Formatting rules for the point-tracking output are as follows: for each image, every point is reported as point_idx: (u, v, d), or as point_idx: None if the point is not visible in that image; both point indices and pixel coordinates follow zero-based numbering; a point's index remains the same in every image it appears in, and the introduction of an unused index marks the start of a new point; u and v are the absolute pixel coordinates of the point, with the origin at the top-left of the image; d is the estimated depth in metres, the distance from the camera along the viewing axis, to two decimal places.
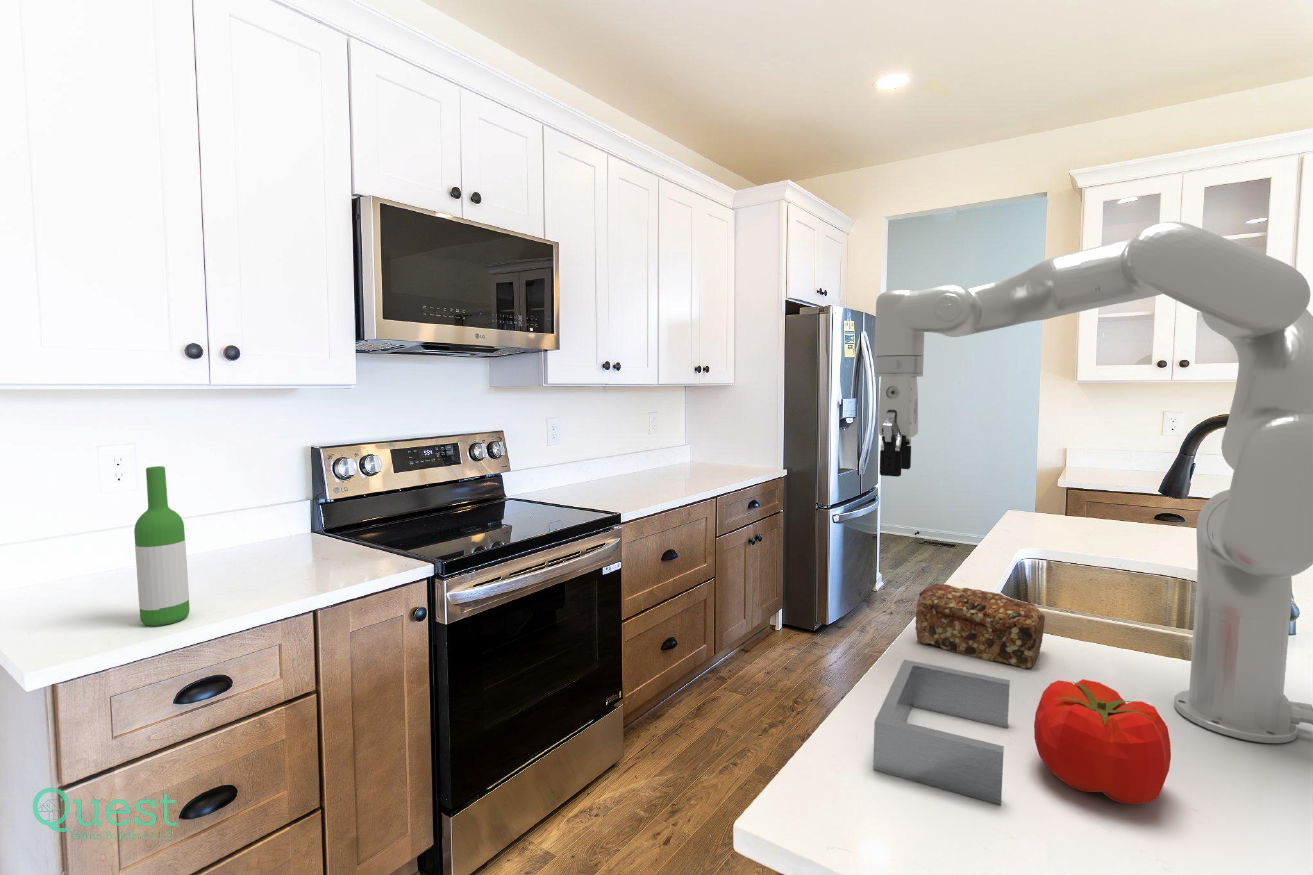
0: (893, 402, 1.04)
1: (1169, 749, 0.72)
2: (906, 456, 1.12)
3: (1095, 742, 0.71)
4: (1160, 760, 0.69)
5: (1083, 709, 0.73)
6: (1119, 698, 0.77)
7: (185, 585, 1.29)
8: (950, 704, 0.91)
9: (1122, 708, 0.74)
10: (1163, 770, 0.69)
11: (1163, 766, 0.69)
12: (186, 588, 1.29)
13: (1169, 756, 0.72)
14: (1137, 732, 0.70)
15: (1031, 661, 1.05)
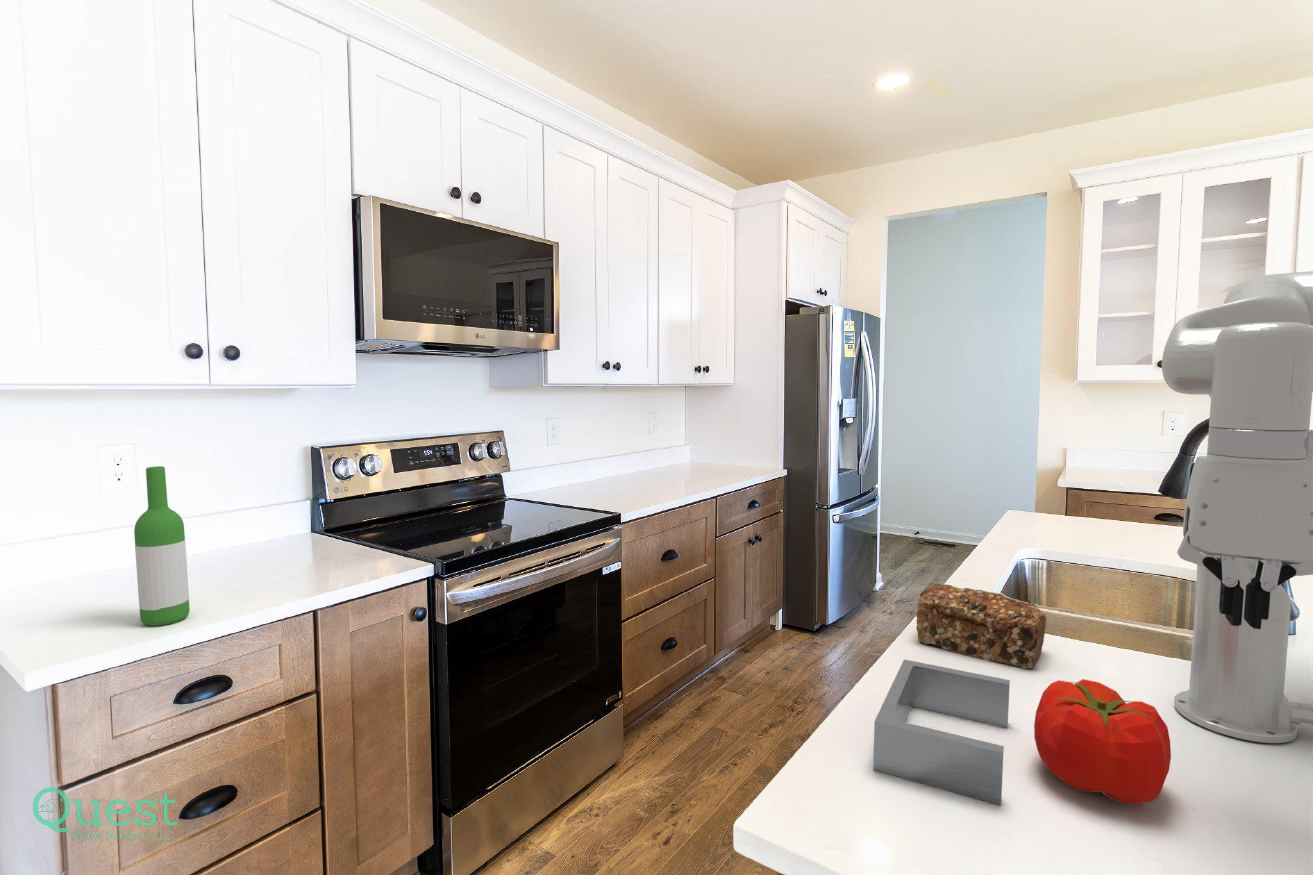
0: None
1: (1169, 749, 0.72)
2: None
3: (1095, 742, 0.71)
4: (1161, 760, 0.69)
5: (1083, 709, 0.73)
6: (1119, 698, 0.77)
7: (185, 585, 1.29)
8: (950, 704, 0.91)
9: (1122, 708, 0.74)
10: (1163, 770, 0.69)
11: (1163, 766, 0.69)
12: (186, 588, 1.29)
13: (1169, 756, 0.72)
14: (1137, 733, 0.70)
15: (1032, 661, 1.05)
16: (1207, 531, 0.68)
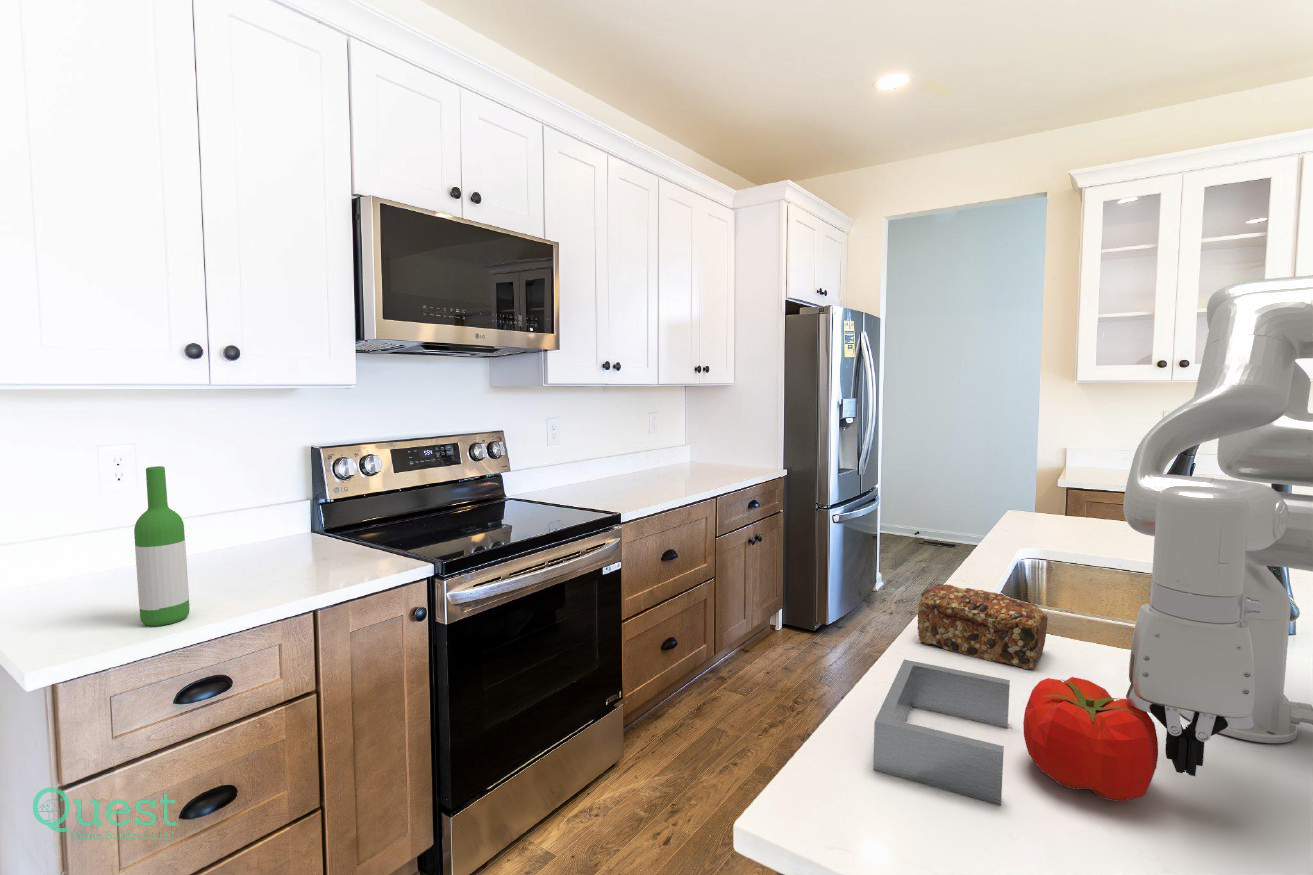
0: None
1: (1156, 746, 0.72)
2: None
3: (1083, 739, 0.71)
4: (1147, 756, 0.70)
5: (1071, 707, 0.73)
6: (1108, 696, 0.78)
7: (185, 585, 1.29)
8: (950, 704, 0.91)
9: (1110, 706, 0.75)
10: (1150, 767, 0.70)
11: (1150, 763, 0.70)
12: (186, 588, 1.29)
13: (1156, 753, 0.72)
14: (1124, 730, 0.70)
15: (1033, 662, 1.05)
16: (1149, 682, 0.71)
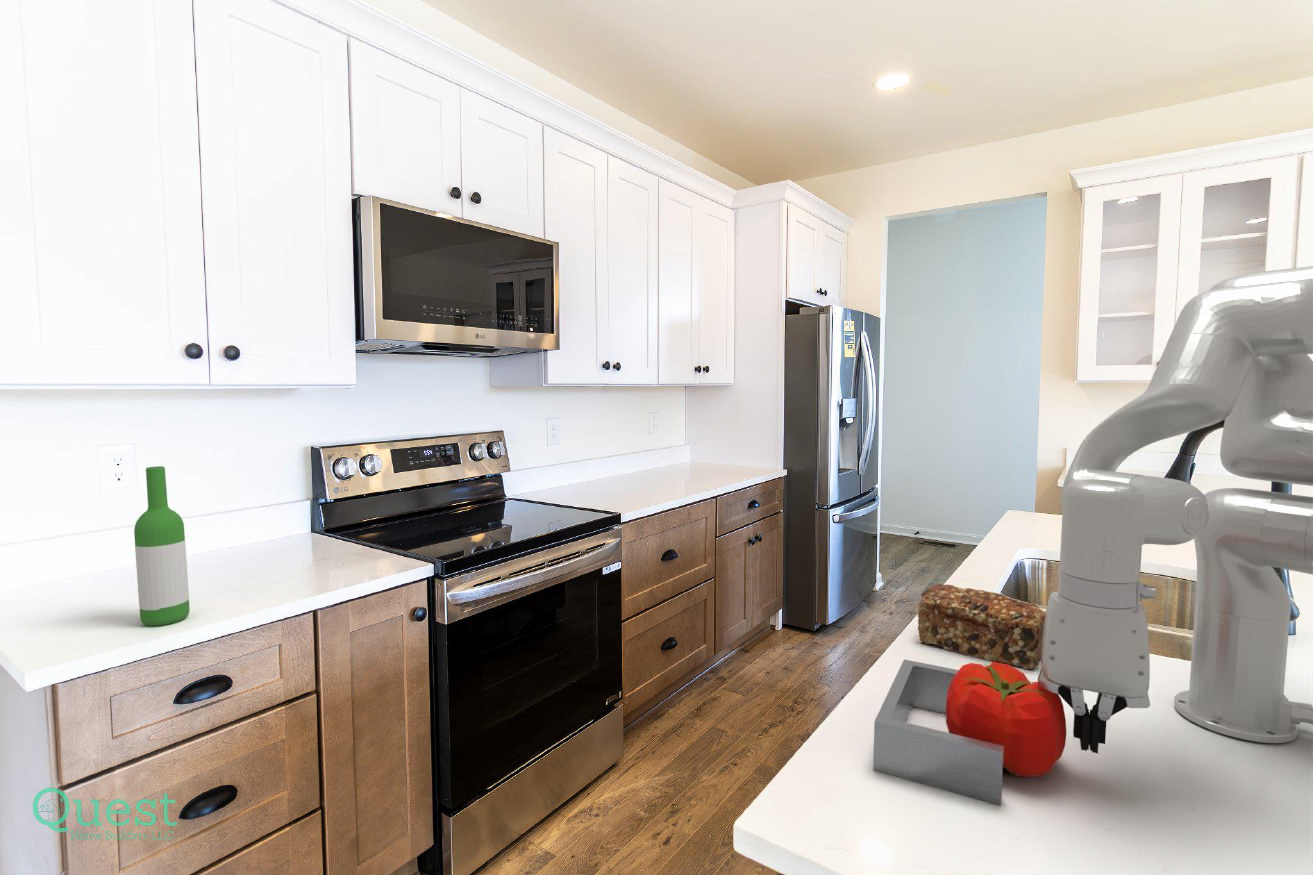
0: None
1: (1064, 726, 0.77)
2: None
3: (993, 718, 0.76)
4: (1051, 735, 0.74)
5: (985, 688, 0.78)
6: (1025, 679, 0.82)
7: (185, 585, 1.29)
8: None
9: (1023, 688, 0.79)
10: (1054, 744, 0.74)
11: (1054, 741, 0.74)
12: (186, 588, 1.29)
13: (1064, 732, 0.77)
14: (1030, 709, 0.74)
15: (1033, 662, 1.05)
16: (1055, 665, 0.75)
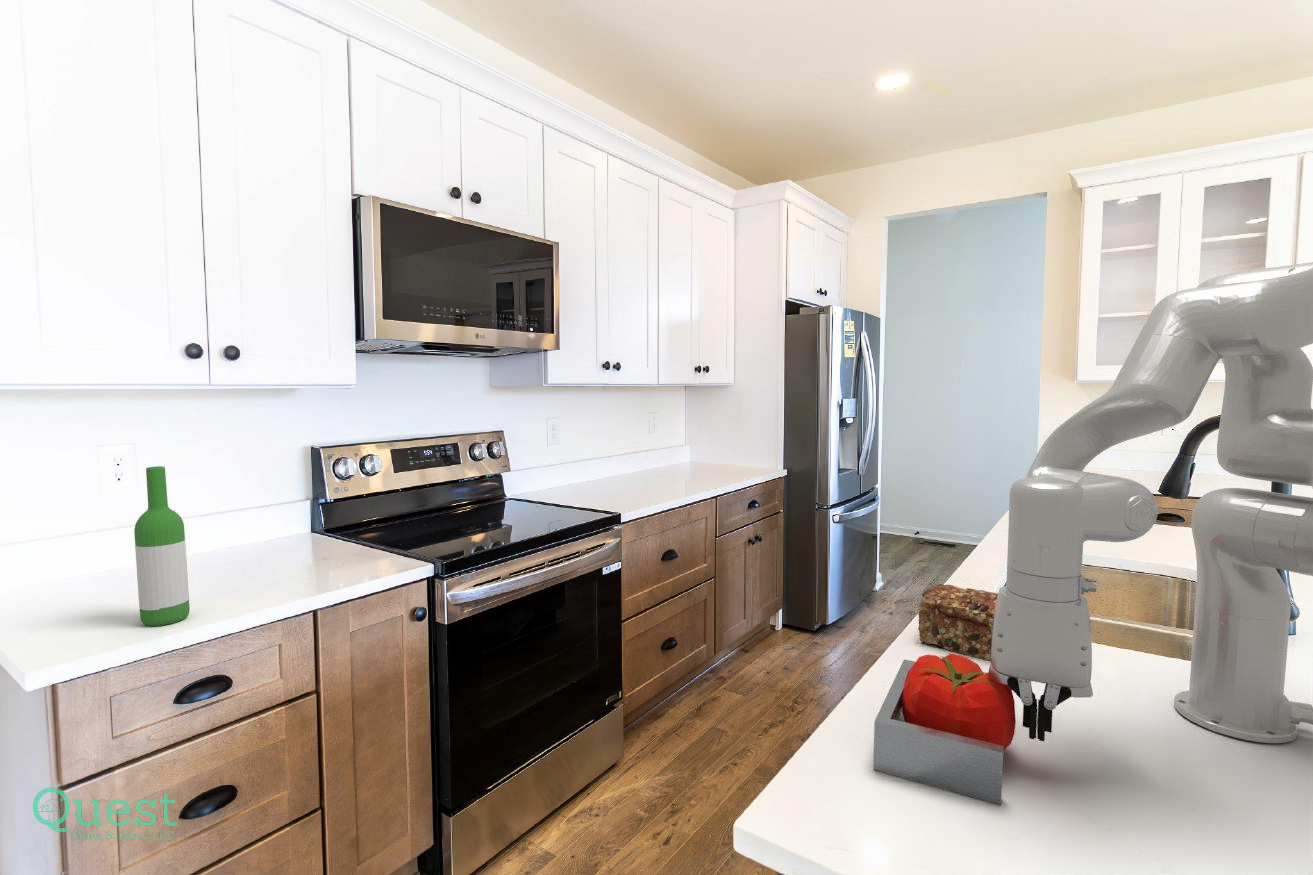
0: None
1: (1013, 715, 0.79)
2: None
3: (944, 707, 0.78)
4: (999, 723, 0.77)
5: (937, 678, 0.80)
6: (979, 670, 0.85)
7: (185, 585, 1.29)
8: None
9: (975, 678, 0.82)
10: (1002, 732, 0.77)
11: (1002, 728, 0.77)
12: (186, 588, 1.29)
13: (1013, 721, 0.79)
14: (979, 698, 0.77)
15: None
16: (1003, 657, 0.78)
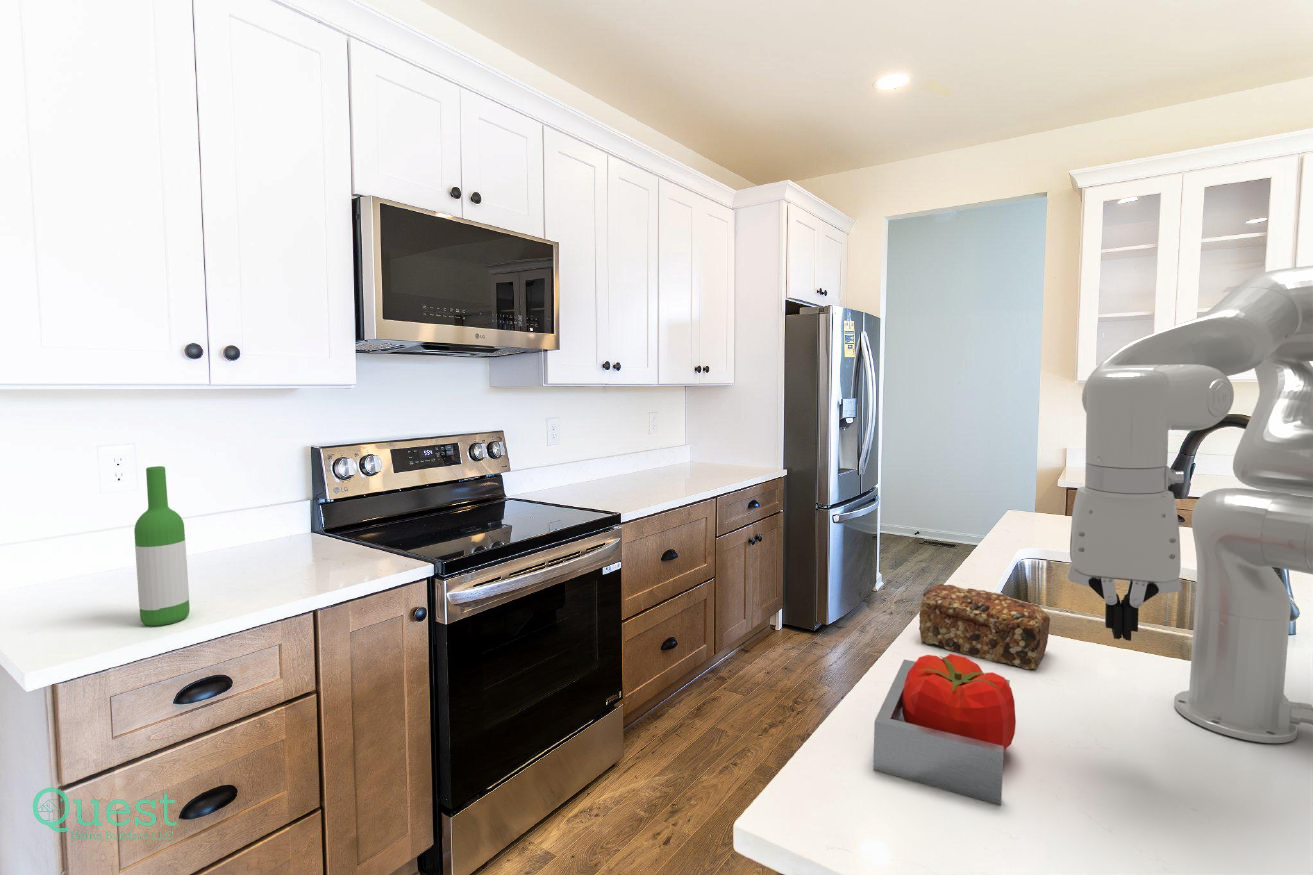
0: None
1: (1013, 715, 0.79)
2: None
3: (944, 707, 0.78)
4: (999, 723, 0.77)
5: (937, 679, 0.80)
6: (979, 670, 0.85)
7: (185, 585, 1.29)
8: None
9: (975, 679, 0.82)
10: (1002, 732, 0.77)
11: (1002, 729, 0.77)
12: (186, 588, 1.29)
13: (1013, 721, 0.79)
14: (979, 699, 0.77)
15: (1035, 662, 1.05)
16: (1085, 556, 0.76)
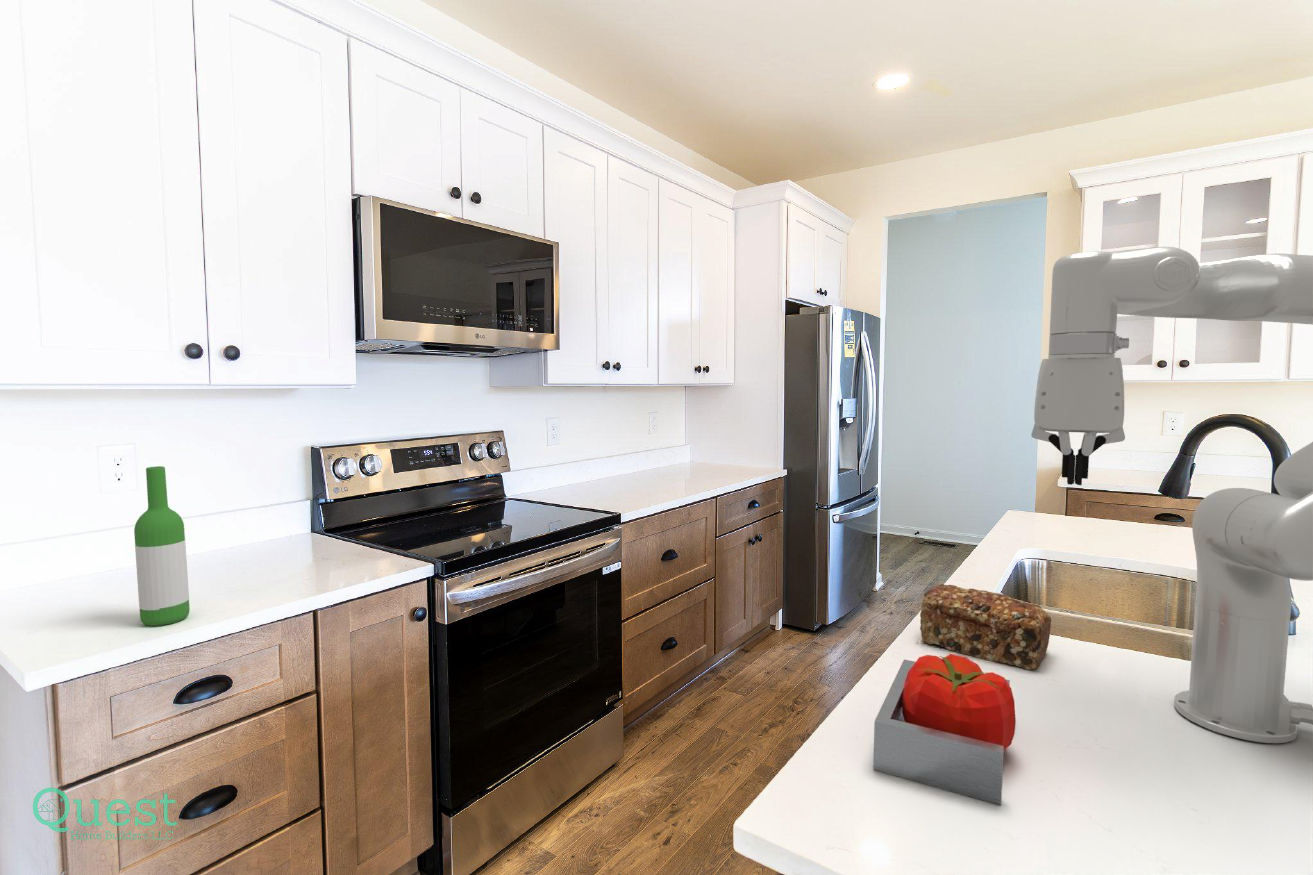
0: None
1: (1013, 715, 0.79)
2: None
3: (944, 707, 0.78)
4: (999, 723, 0.77)
5: (937, 679, 0.80)
6: (979, 670, 0.85)
7: (185, 585, 1.29)
8: None
9: (975, 679, 0.82)
10: (1002, 732, 0.77)
11: (1002, 729, 0.77)
12: (186, 588, 1.29)
13: (1013, 721, 0.79)
14: (979, 699, 0.77)
15: (1036, 662, 1.05)
16: (1046, 413, 0.89)
